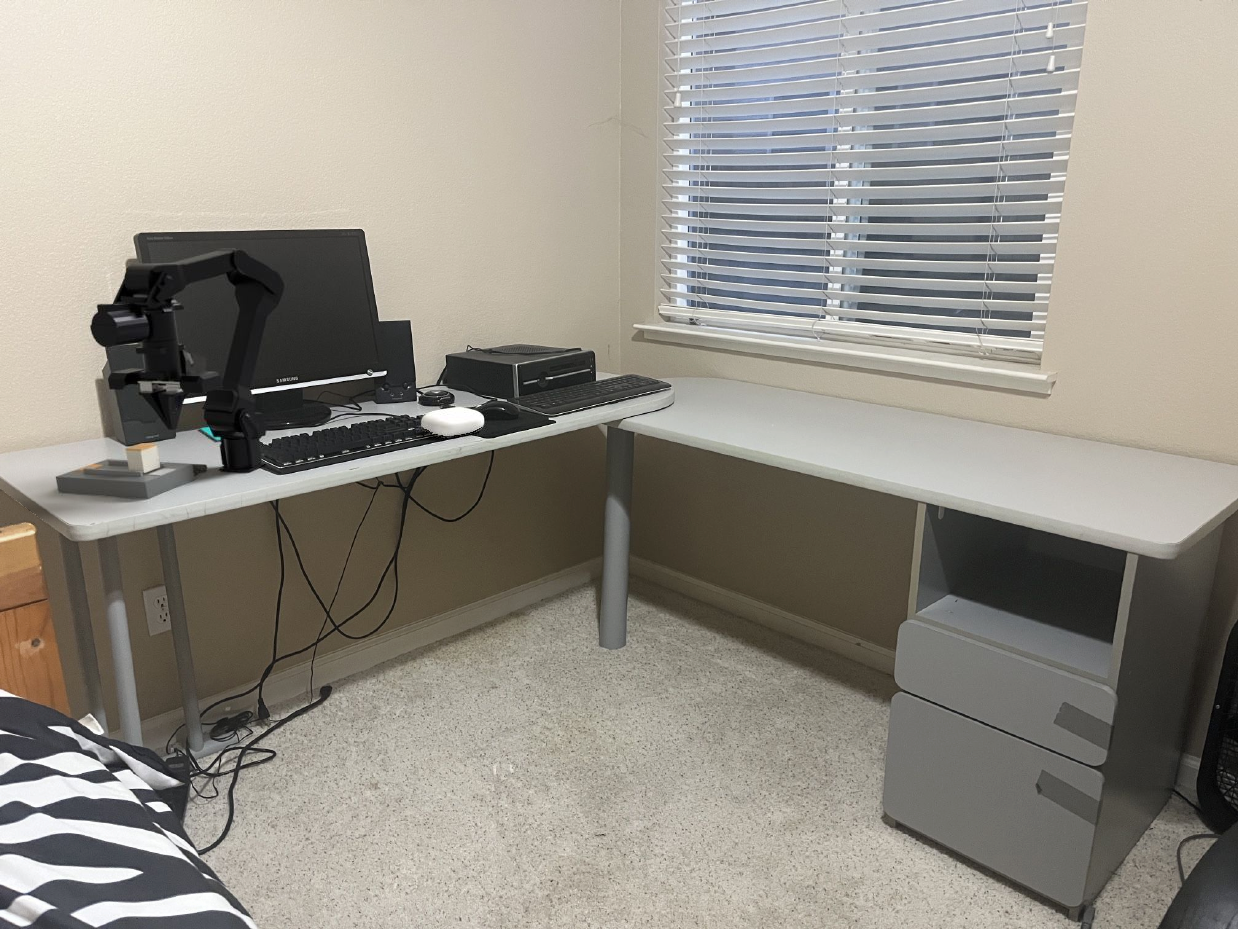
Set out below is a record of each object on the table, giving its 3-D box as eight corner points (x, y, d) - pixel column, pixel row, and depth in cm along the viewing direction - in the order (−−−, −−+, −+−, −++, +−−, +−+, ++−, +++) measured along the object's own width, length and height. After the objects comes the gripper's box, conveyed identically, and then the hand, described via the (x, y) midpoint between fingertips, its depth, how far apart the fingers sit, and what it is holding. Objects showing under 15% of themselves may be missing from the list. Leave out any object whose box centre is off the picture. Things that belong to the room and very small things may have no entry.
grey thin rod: (207, 470, 166) (206, 463, 166) (203, 472, 165) (202, 465, 165) (141, 468, 168) (140, 461, 168) (136, 470, 167) (135, 463, 166)
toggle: (160, 467, 156) (156, 443, 155) (144, 473, 153) (140, 449, 152) (145, 466, 157) (142, 443, 156) (129, 472, 153) (125, 448, 152)
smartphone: (231, 423, 204) (250, 435, 192) (232, 426, 204) (251, 438, 193) (197, 428, 199) (215, 440, 188) (198, 431, 200) (216, 444, 188)
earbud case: (416, 434, 195) (414, 410, 194) (465, 425, 204) (464, 402, 202) (440, 442, 188) (439, 418, 187) (490, 432, 196) (489, 409, 195)
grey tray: (194, 479, 160) (191, 459, 159) (147, 499, 149) (144, 477, 148) (110, 474, 164) (107, 454, 163) (58, 493, 153) (54, 472, 152)
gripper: (237, 335, 153) (248, 422, 157) (147, 332, 157) (160, 417, 161) (194, 343, 142) (206, 436, 147) (98, 340, 147) (113, 430, 151)
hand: (172, 429), depth 152 cm, fingers closed
